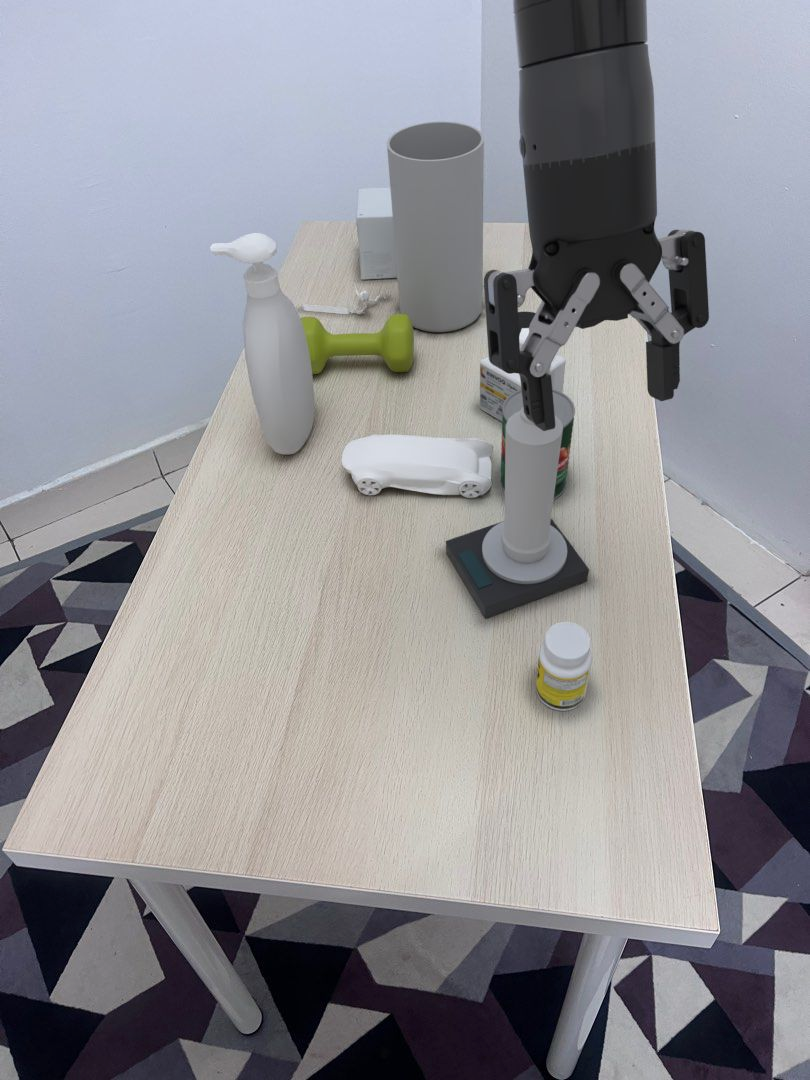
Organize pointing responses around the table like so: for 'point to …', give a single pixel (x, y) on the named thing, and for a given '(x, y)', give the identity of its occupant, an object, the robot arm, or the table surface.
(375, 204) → the cosmetics box
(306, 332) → the dumbbell
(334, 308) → the action figure
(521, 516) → the bottle
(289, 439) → the soap bottle
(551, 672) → the supplement bottle
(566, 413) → the canned tomato
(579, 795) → the table surface
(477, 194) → the cylinder vase
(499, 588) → the scale
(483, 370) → the container
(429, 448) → the toy car
